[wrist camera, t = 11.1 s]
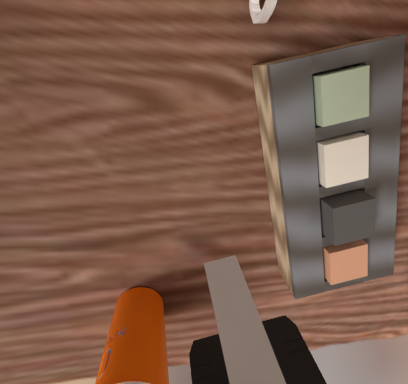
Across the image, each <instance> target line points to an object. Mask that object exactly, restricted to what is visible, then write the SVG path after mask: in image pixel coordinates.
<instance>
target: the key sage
mask: <svg viewBox="0 0 408 384" xmlns="http://www.w3.org/2000/svg"><path fill="white" fill-rule="evenodd" d="M369 68H370V65H360V66H344V67H340V68H335V69H331V70H327V71H322V72H318V73H314V74H312V81H313V98H314V115H315V124H316V125H319V126H321V127H326V126H330V125H334V124H338V123H343V122H347V121H351V120H355V119H360V118H364V117H368V116H369Z"/></svg>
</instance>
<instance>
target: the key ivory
mask: <svg viewBox="0 0 408 384" xmlns="http://www.w3.org/2000/svg"><path fill="white" fill-rule="evenodd" d="M316 148H317V164H318V181H319V183H320V184H321V185H322V186H324V187H325V188H329V187H333V186H337V185H341V184H345V183H350V182H354V181H358V180H362V179H366V178H368V171H369V135H368V134H364V133H361V132H358V131H357V132H353V133H348V134H344V135H340V136H336V137H332V138H327V139H323V140H319V141H316Z"/></svg>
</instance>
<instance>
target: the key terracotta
mask: <svg viewBox="0 0 408 384" xmlns="http://www.w3.org/2000/svg"><path fill="white" fill-rule="evenodd" d="M322 248H323V264H324V277H325V278H326V279H327V281H328V282H329V283H330V285H334V284H338V283H342V282H346V281H349V280H353V279H357V278H361V277H365V276H368V244H367V243H366V242H365V241H364V240H362V239H361V240H357V241H353V242H349V243H345V244H341V245H337V246H334V245H330V246H326V247H322Z"/></svg>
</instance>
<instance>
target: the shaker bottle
mask: <svg viewBox="0 0 408 384" xmlns="http://www.w3.org/2000/svg"><path fill="white" fill-rule="evenodd" d="M96 384H169V378H168V364H167V349H166V335H165V320H164V306H163V300H162V298H161V296H160V295H159V294H158V293H157V292H156V291H154V290H152V289H150V288H146V287H136V288H132V289H129V290H127V291H125V292H124V293H123V294H122V295H121V296H120V297H119V298H118V301H117V303H116V307H115V311H114V315H113V319H112V322H111V326H110V330H109V334H108V337H107V341H106V345H105V349H104V353H103V356H102V361H101V364H100V369H99V372H98V376H97V379H96Z"/></svg>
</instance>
